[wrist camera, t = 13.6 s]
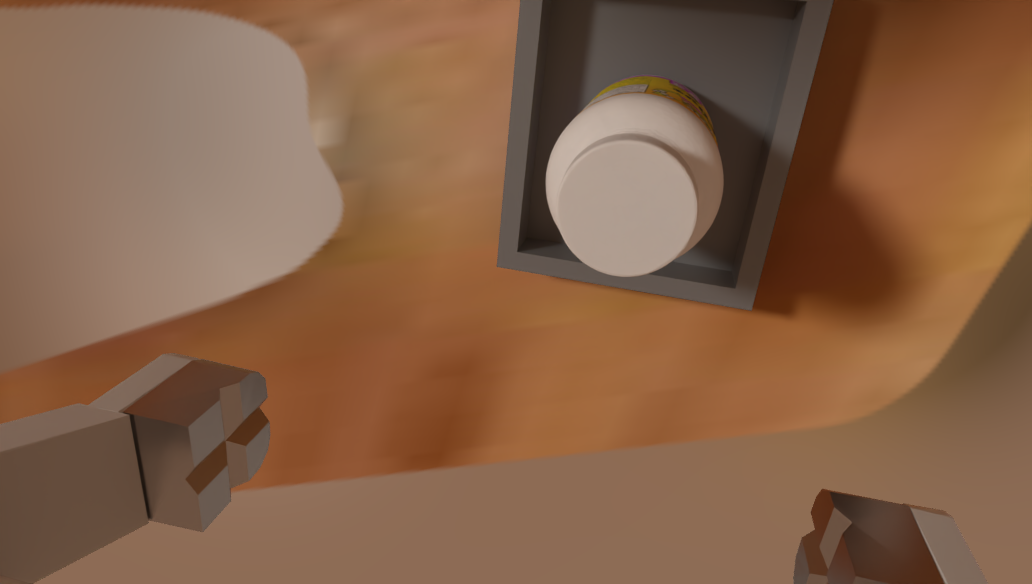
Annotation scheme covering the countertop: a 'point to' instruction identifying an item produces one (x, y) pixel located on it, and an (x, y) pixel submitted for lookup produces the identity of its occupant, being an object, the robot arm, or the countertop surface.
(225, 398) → the robot arm
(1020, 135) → the countertop surface
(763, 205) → the tray
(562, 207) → the supplement bottle
